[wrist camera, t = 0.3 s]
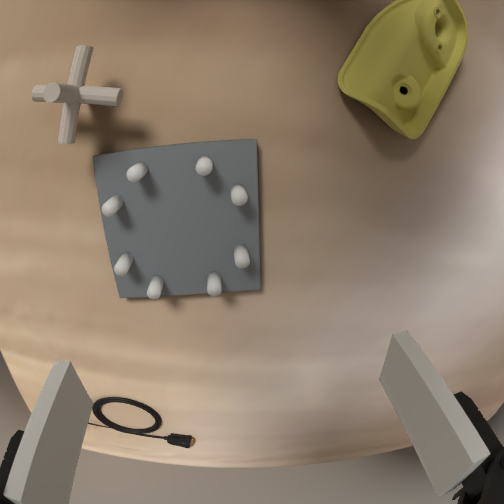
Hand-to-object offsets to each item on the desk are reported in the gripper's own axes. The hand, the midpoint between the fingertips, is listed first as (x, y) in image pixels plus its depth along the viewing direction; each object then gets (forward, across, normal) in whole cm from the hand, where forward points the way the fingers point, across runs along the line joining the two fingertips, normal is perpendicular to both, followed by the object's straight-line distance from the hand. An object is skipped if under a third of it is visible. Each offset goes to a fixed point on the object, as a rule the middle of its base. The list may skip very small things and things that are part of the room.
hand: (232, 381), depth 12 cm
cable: (+27, -22, -39) cm, 53 cm away
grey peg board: (+27, -5, -2) cm, 27 cm away
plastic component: (+27, +23, +17) cm, 40 cm away
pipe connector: (+27, -14, +14) cm, 33 cm away
